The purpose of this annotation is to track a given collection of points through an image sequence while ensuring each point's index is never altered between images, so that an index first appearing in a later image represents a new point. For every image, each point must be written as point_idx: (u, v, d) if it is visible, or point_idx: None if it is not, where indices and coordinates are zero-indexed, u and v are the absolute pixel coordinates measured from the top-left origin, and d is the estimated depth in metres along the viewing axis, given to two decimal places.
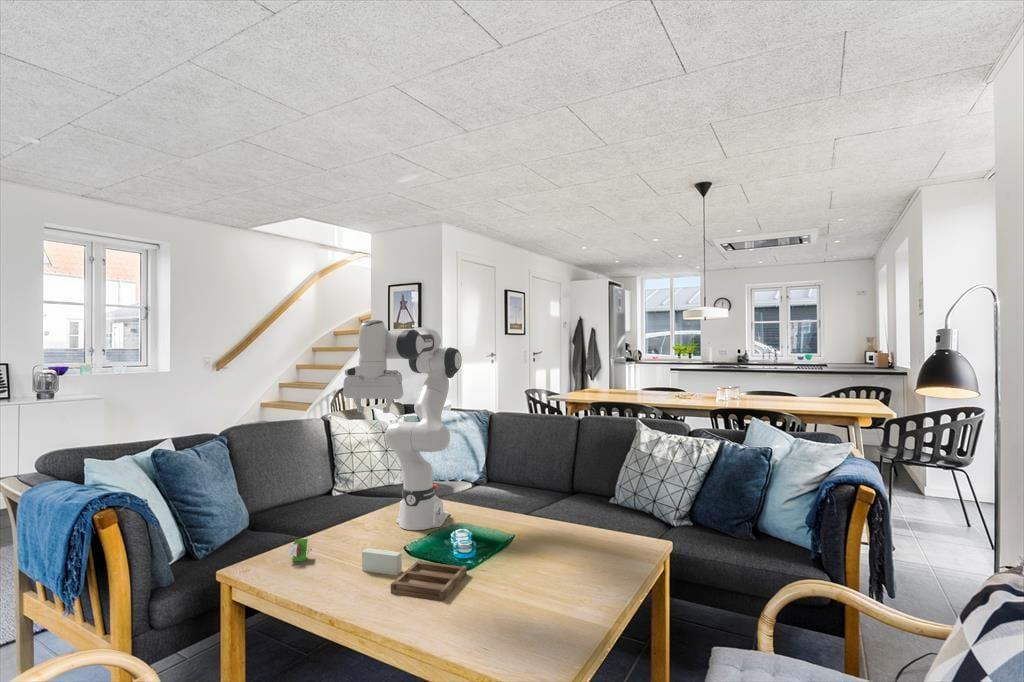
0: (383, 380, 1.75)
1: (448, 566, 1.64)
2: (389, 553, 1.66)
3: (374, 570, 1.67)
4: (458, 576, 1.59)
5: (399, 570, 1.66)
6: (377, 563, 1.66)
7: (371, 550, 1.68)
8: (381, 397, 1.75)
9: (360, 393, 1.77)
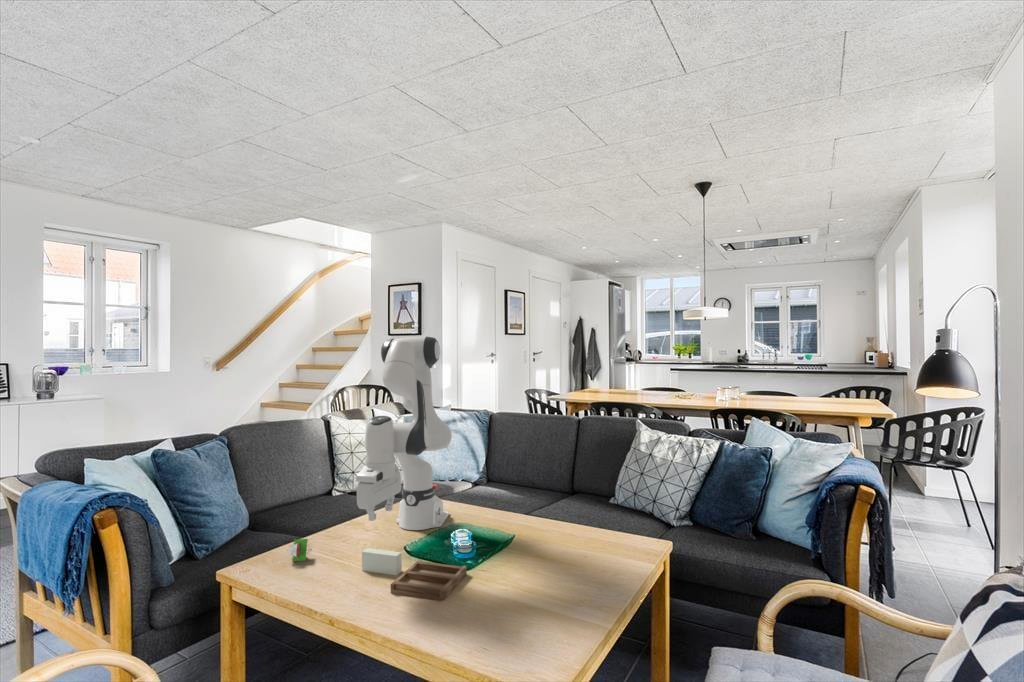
0: (393, 476, 1.71)
1: (448, 566, 1.64)
2: (389, 553, 1.66)
3: (374, 570, 1.67)
4: (458, 576, 1.59)
5: (399, 570, 1.66)
6: (377, 563, 1.66)
7: (371, 550, 1.68)
8: (392, 495, 1.70)
9: (379, 497, 1.63)
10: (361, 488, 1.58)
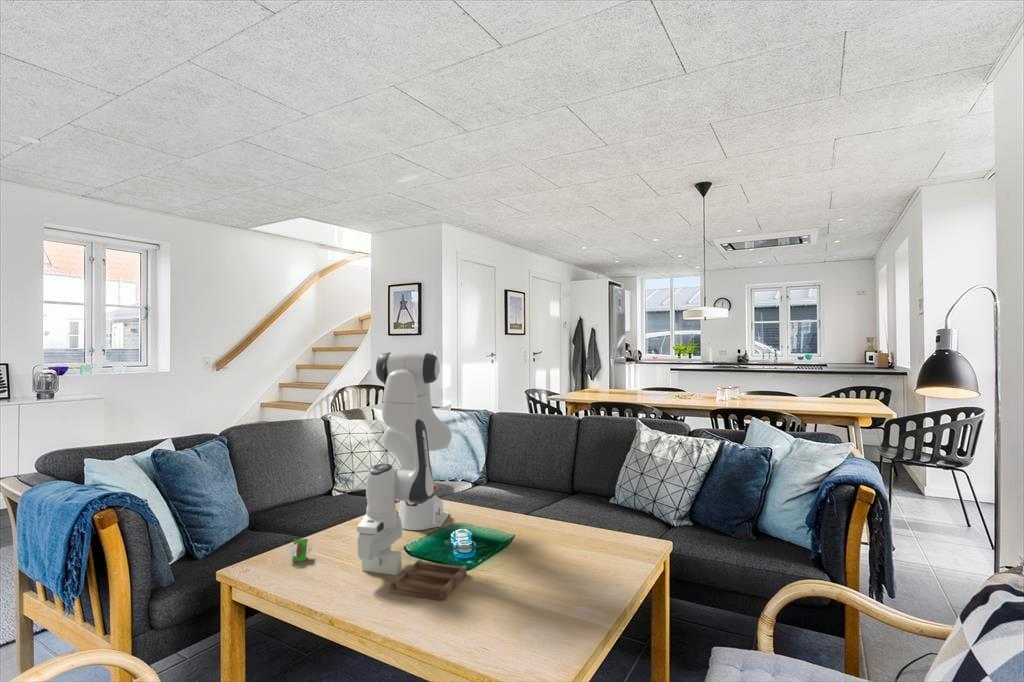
0: (394, 524, 1.71)
1: (448, 566, 1.64)
2: (389, 552, 1.66)
3: (374, 570, 1.66)
4: (458, 576, 1.59)
5: (399, 569, 1.66)
6: None
7: None
8: (393, 542, 1.71)
9: (380, 547, 1.63)
10: (362, 539, 1.59)
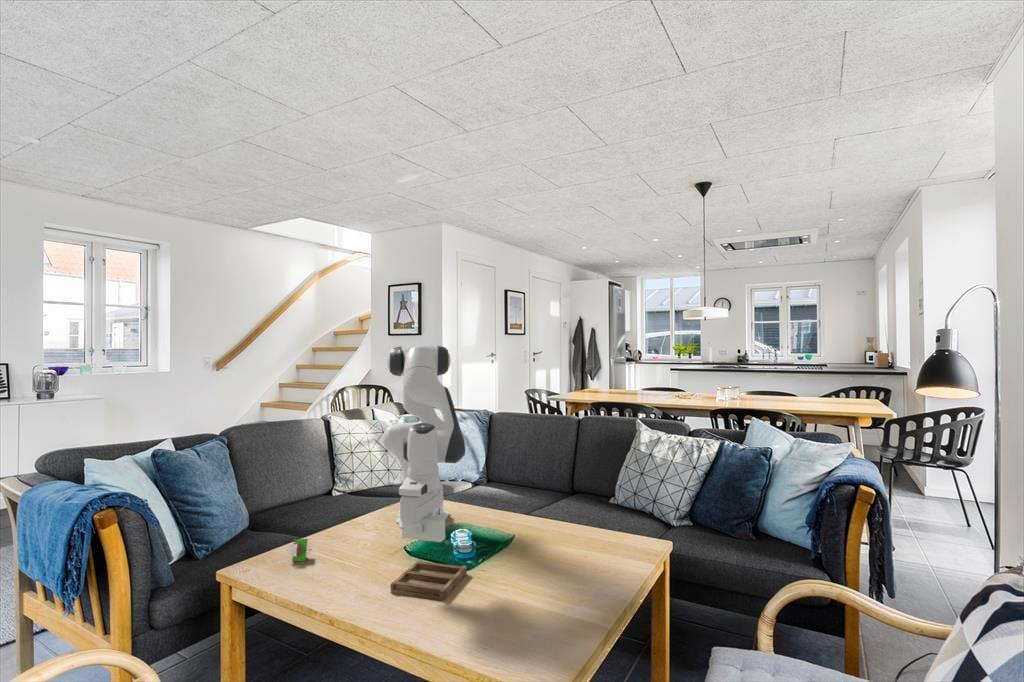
0: (436, 488, 1.59)
1: (448, 566, 1.64)
2: (432, 518, 1.54)
3: (416, 537, 1.54)
4: (458, 576, 1.59)
5: (443, 536, 1.54)
6: None
7: None
8: (435, 508, 1.58)
9: (423, 511, 1.51)
10: (405, 502, 1.46)
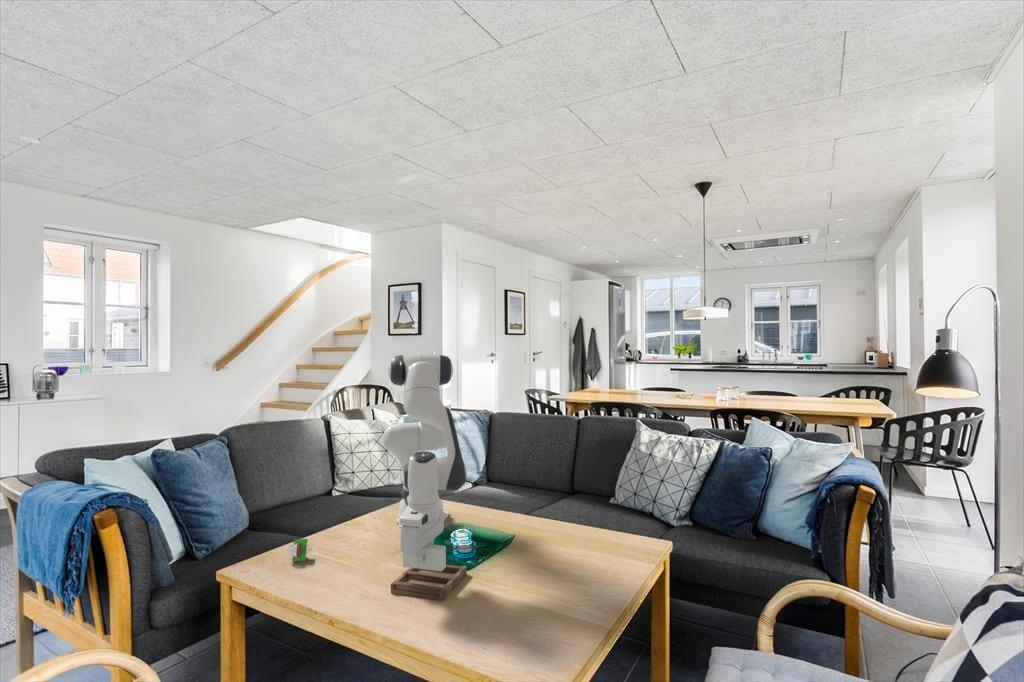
0: None
1: (448, 566, 1.64)
2: (432, 547, 1.54)
3: (416, 565, 1.54)
4: (458, 576, 1.59)
5: (443, 565, 1.54)
6: None
7: None
8: (435, 536, 1.58)
9: (424, 541, 1.51)
10: (405, 532, 1.46)
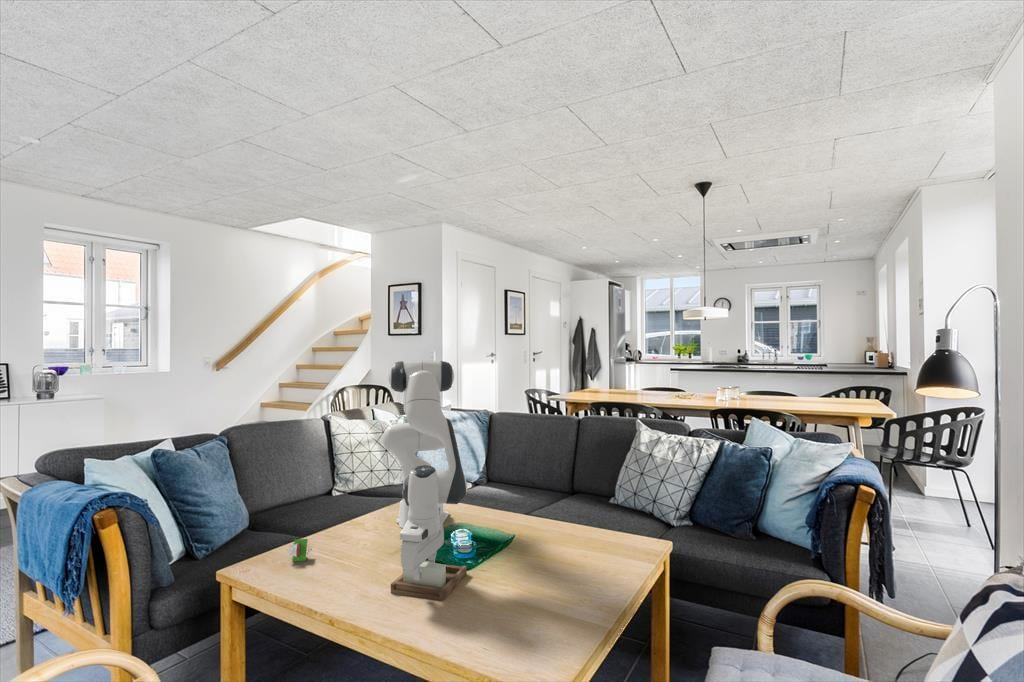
0: None
1: (448, 566, 1.64)
2: (432, 565, 1.54)
3: None
4: (458, 576, 1.59)
5: (443, 584, 1.54)
6: None
7: None
8: (435, 550, 1.59)
9: (424, 555, 1.51)
10: (406, 548, 1.46)
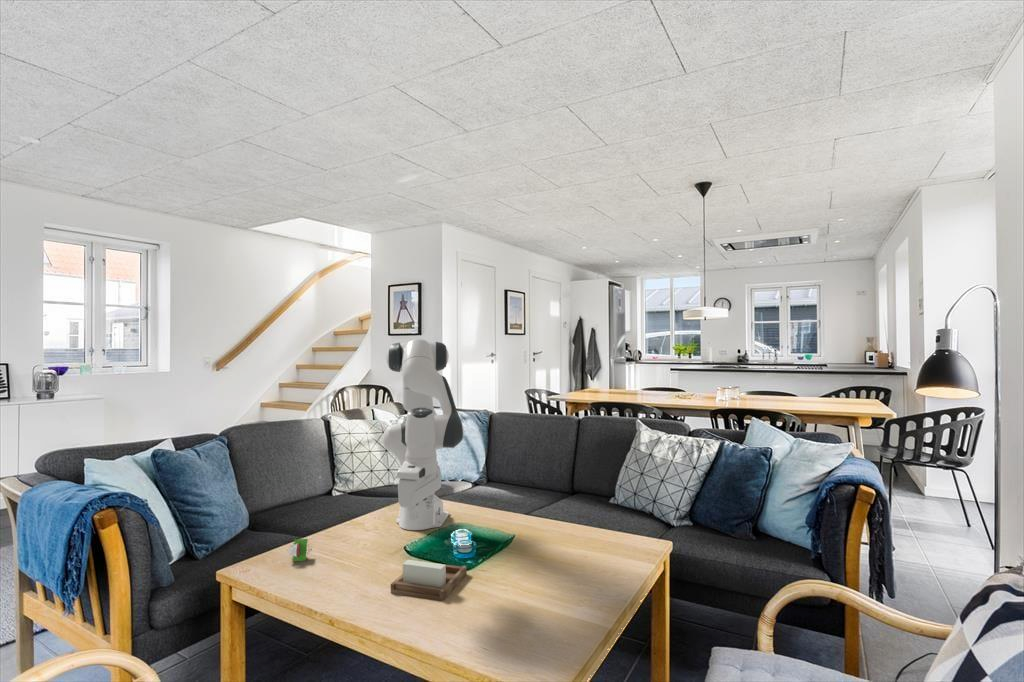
0: (434, 472, 1.60)
1: (448, 566, 1.64)
2: (432, 565, 1.54)
3: None
4: (458, 576, 1.59)
5: (443, 584, 1.54)
6: (420, 576, 1.54)
7: (413, 562, 1.56)
8: (433, 491, 1.59)
9: (421, 495, 1.52)
10: (403, 485, 1.47)
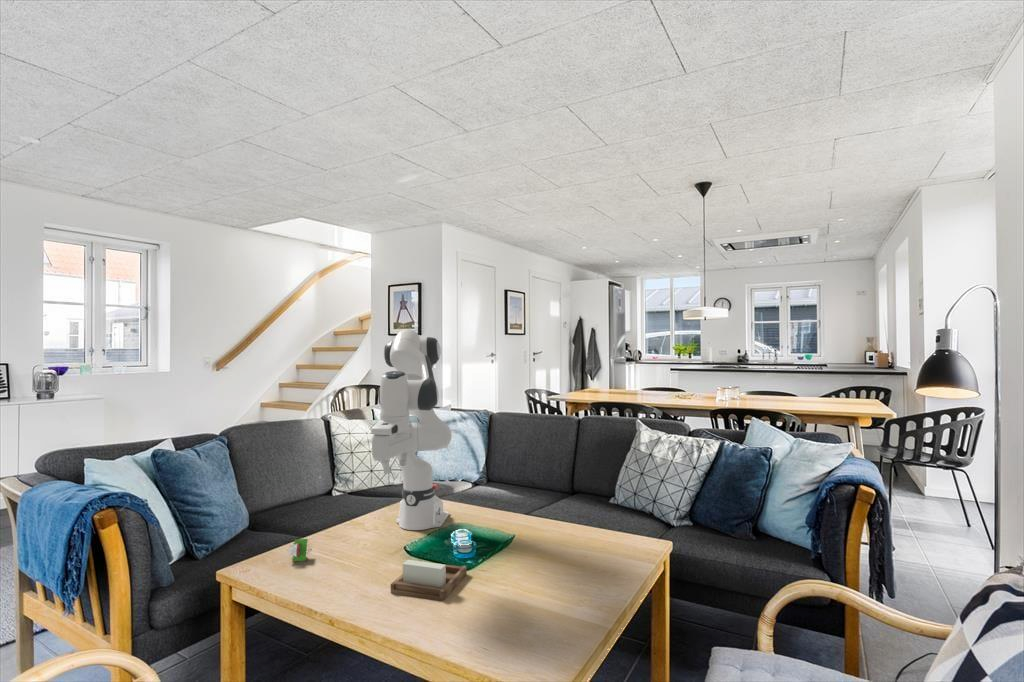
0: (407, 432, 1.72)
1: (448, 566, 1.64)
2: (432, 565, 1.54)
3: None
4: (458, 576, 1.59)
5: (443, 584, 1.54)
6: (420, 576, 1.54)
7: (413, 562, 1.56)
8: (406, 450, 1.71)
9: (394, 451, 1.64)
10: (376, 440, 1.59)
